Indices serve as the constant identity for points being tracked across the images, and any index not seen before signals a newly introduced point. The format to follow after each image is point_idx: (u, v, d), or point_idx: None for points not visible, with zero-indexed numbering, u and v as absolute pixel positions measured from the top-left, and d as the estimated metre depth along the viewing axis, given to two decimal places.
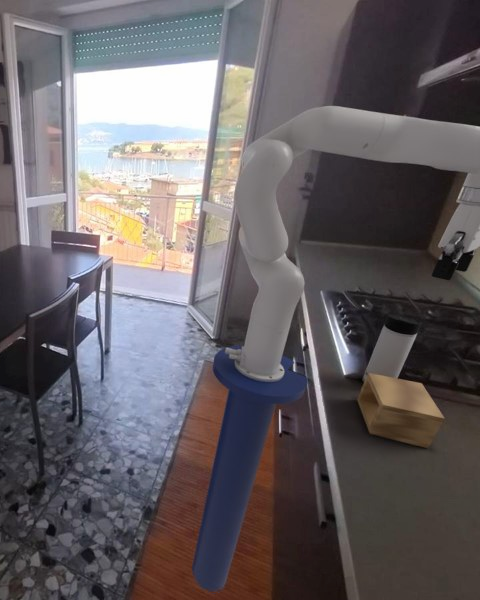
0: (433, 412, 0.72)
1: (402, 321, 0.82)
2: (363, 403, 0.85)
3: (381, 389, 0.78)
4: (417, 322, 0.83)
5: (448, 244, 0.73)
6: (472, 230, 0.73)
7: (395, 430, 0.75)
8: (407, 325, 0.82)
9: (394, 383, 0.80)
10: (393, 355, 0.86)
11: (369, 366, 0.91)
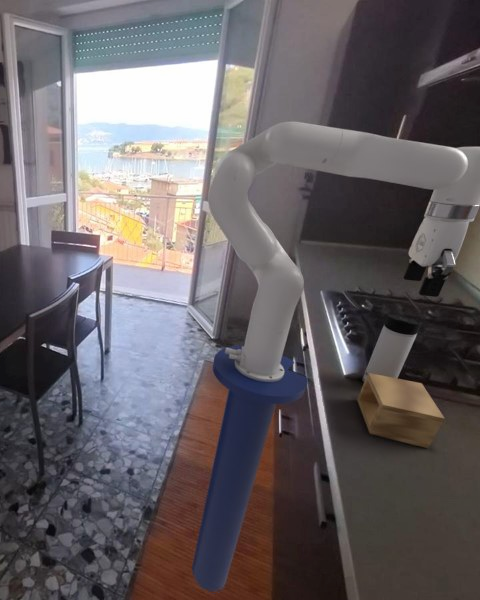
0: (433, 412, 0.72)
1: (402, 321, 0.82)
2: (363, 403, 0.85)
3: (381, 389, 0.78)
4: (417, 322, 0.83)
5: (449, 264, 0.70)
6: (458, 246, 0.72)
7: (395, 430, 0.75)
8: (407, 325, 0.82)
9: (394, 383, 0.80)
10: (393, 355, 0.86)
11: (369, 366, 0.91)
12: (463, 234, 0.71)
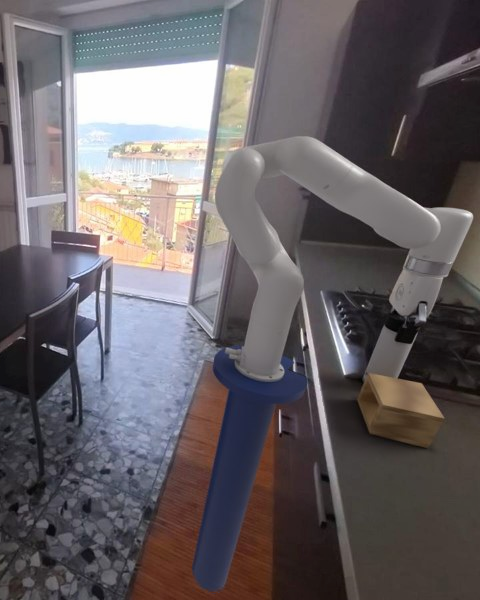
0: (433, 412, 0.72)
1: (402, 321, 0.82)
2: (363, 403, 0.85)
3: (381, 389, 0.78)
4: None
5: (421, 320, 0.77)
6: (433, 299, 0.77)
7: (395, 430, 0.75)
8: None
9: (394, 383, 0.80)
10: (393, 355, 0.86)
11: (369, 366, 0.91)
12: (437, 289, 0.76)
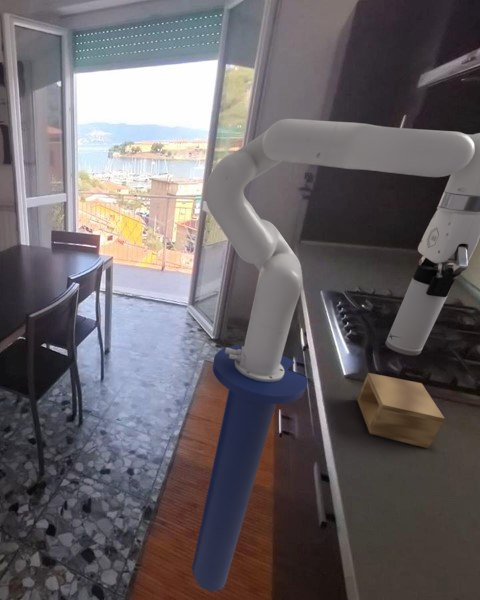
0: (433, 412, 0.72)
1: (436, 270, 0.72)
2: (363, 403, 0.85)
3: (381, 389, 0.78)
4: None
5: (461, 266, 0.66)
6: (475, 241, 0.66)
7: (395, 430, 0.75)
8: None
9: (394, 383, 0.80)
10: (423, 312, 0.75)
11: (394, 327, 0.80)
12: None
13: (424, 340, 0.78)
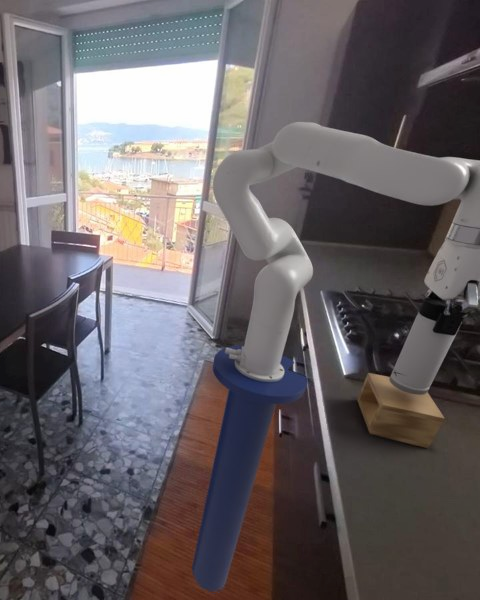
0: (433, 412, 0.72)
1: (444, 307, 0.66)
2: (363, 403, 0.85)
3: (381, 389, 0.78)
4: None
5: (471, 305, 0.60)
6: None
7: (395, 430, 0.75)
8: None
9: None
10: (430, 350, 0.69)
11: (399, 363, 0.75)
12: None
13: (431, 379, 0.72)
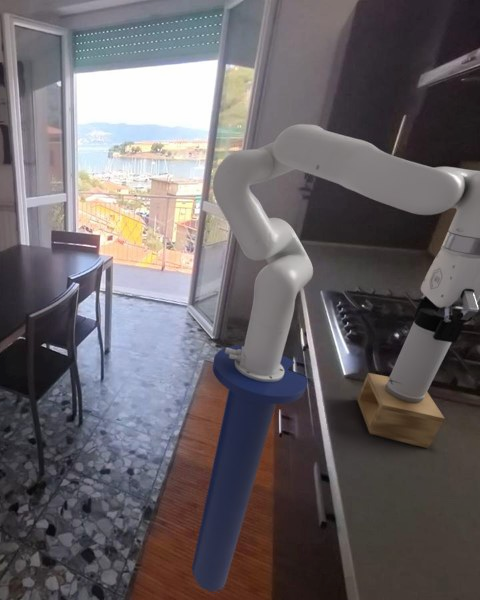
0: (433, 412, 0.72)
1: (439, 317, 0.67)
2: (363, 403, 0.85)
3: (381, 389, 0.78)
4: None
5: (471, 308, 0.60)
6: None
7: (395, 430, 0.75)
8: None
9: None
10: (425, 359, 0.70)
11: (394, 372, 0.76)
12: None
13: (426, 387, 0.73)
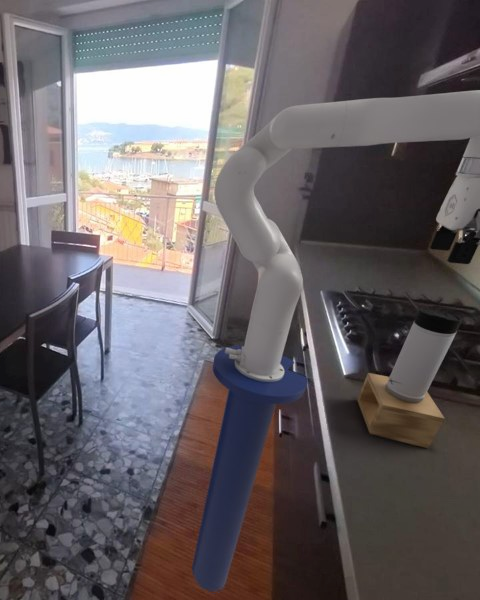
0: (433, 412, 0.72)
1: (439, 317, 0.67)
2: (363, 403, 0.85)
3: (381, 389, 0.78)
4: (456, 318, 0.68)
5: None
6: None
7: (395, 430, 0.75)
8: (445, 322, 0.67)
9: None
10: (425, 359, 0.70)
11: (394, 372, 0.76)
12: None
13: (426, 387, 0.73)
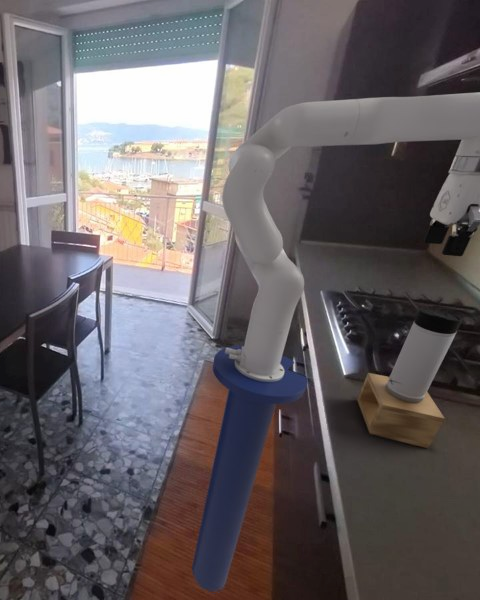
0: (433, 412, 0.72)
1: (439, 317, 0.67)
2: (363, 403, 0.85)
3: (381, 389, 0.78)
4: (456, 318, 0.68)
5: (476, 219, 0.68)
6: None
7: (395, 430, 0.75)
8: (445, 322, 0.67)
9: None
10: (425, 359, 0.70)
11: (394, 372, 0.76)
12: None
13: (426, 387, 0.73)
